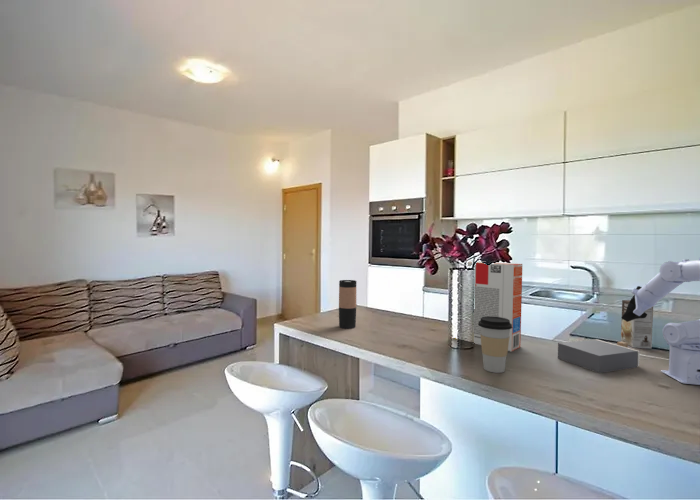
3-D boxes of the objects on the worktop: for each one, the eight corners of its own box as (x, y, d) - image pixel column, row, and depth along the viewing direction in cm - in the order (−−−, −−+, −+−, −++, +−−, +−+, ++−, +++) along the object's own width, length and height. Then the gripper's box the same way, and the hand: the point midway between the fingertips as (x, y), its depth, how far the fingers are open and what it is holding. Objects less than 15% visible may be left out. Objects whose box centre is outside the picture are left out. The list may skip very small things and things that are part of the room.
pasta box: (520, 346, 133) (522, 263, 133) (511, 351, 128) (513, 264, 127) (461, 334, 149) (463, 260, 149) (451, 338, 144) (453, 261, 143)
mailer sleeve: (598, 372, 108) (599, 355, 107) (557, 358, 121) (558, 342, 121) (637, 367, 113) (637, 351, 113) (593, 353, 126) (594, 339, 126)
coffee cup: (502, 364, 114) (503, 315, 114) (517, 375, 105) (518, 322, 105) (472, 364, 114) (473, 315, 114) (484, 375, 105) (485, 322, 104)
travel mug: (335, 325, 163) (336, 280, 162) (351, 324, 166) (352, 279, 166) (342, 329, 156) (343, 282, 155) (359, 327, 159) (359, 281, 159)
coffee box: (619, 341, 143) (621, 299, 142) (638, 342, 141) (640, 300, 141) (632, 347, 134) (634, 303, 133) (653, 349, 132) (654, 304, 132)
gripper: (648, 268, 119) (622, 292, 129) (635, 295, 112) (608, 318, 122) (672, 281, 116) (643, 304, 126) (660, 309, 109) (631, 331, 119)
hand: (628, 312), depth 124 cm, fingers open, 7 cm apart
